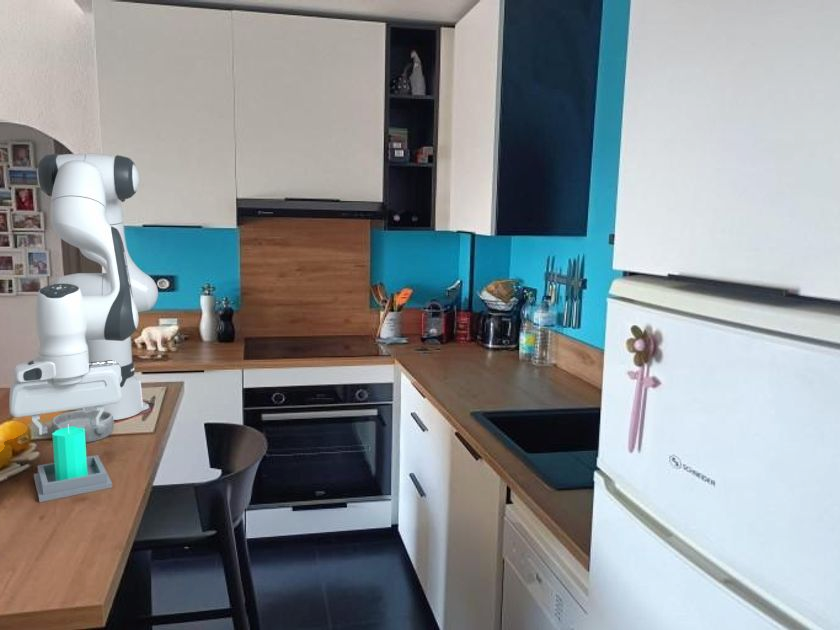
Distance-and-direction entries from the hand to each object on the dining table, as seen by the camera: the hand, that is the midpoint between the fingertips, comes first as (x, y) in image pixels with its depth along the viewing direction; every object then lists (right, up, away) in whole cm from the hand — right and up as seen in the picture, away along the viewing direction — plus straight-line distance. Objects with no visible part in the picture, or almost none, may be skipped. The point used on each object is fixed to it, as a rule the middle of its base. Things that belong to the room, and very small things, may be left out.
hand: (69, 429), depth 134 cm
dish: (-12, -7, +29) cm, 33 cm away
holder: (0, -11, +2) cm, 12 cm away
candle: (0, -11, +1) cm, 11 cm away
